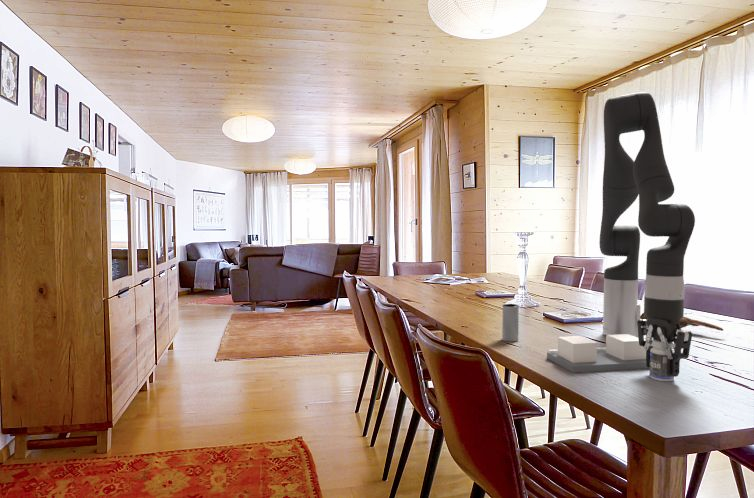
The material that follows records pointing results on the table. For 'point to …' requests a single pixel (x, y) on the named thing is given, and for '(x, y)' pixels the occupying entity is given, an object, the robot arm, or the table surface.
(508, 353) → the table surface
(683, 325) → the bird sculpture
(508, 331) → the planter
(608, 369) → the rail board
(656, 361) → the pill bottle
